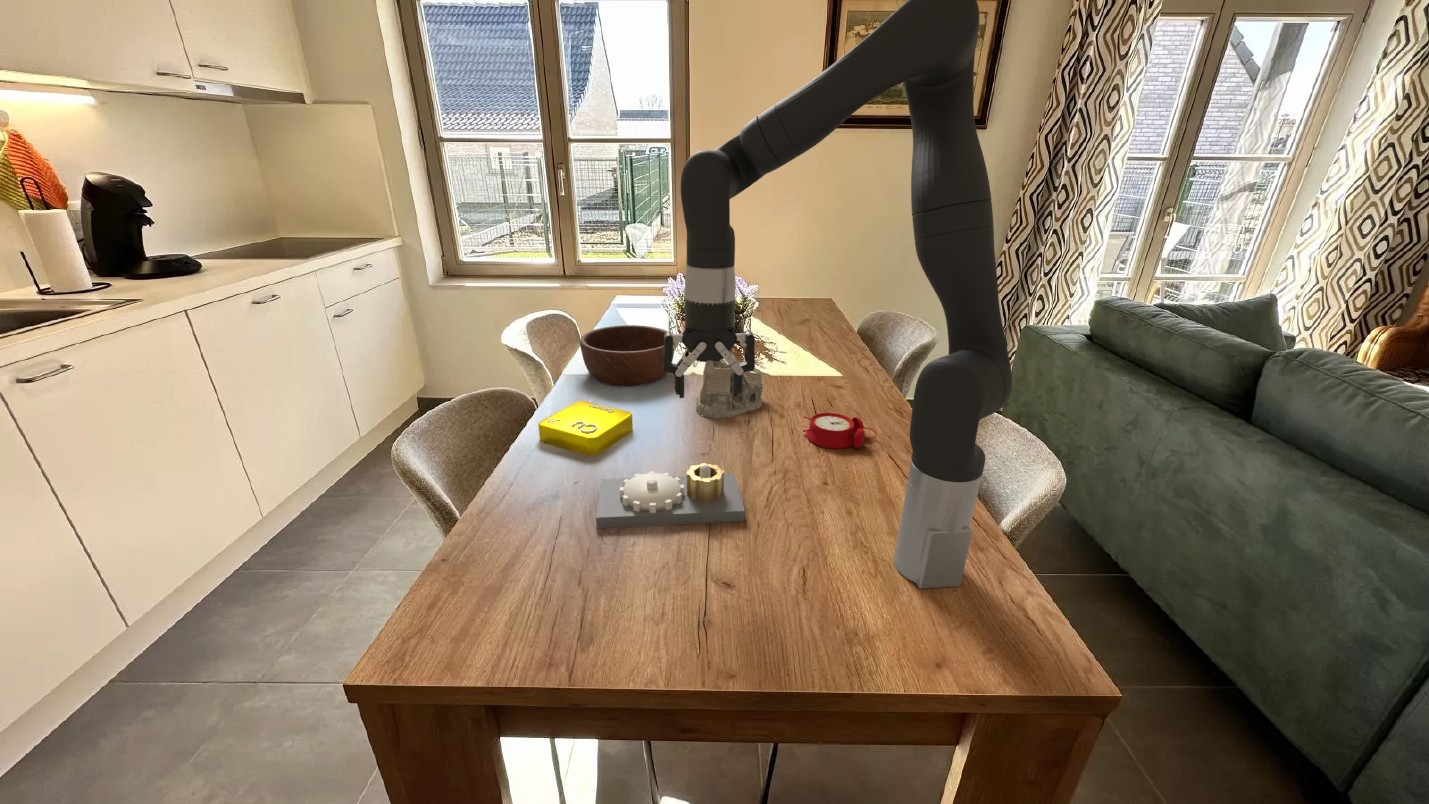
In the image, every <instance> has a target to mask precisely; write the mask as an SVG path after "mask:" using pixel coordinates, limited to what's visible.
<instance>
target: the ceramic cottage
mask: <svg viewBox="0 0 1429 804" xmlns="http://www.w3.org/2000/svg"><path fill="white" fill-rule="evenodd" d="M704 363H705V364H704V367H703V373H702V374H703V375H702V386H701V388H700V392H699V395H698V396H697V397H696V402H695V412H697V413H696V414H698V415H699V414H700V415H699V416H701V415H703V416H706V417H705V418H708V417H714V418H713V419H723V418H724V419H726V417H728V418H732V417H735V415H736V416H739V415H741V414H740V413H742V414H744V413H743V412H745V413H747V412H746V411H748V412H750V411H749V410H751V411H755V410H757V409H760V408H761V407H762V406H763V399H762V393H764V390H763V388H764V386H763V383H762V382H763V381H762V379H763V378H762V372H753V371H747V372H745V373H744V374H743V376H742V391H741V393H738V397H733V395H732V391H731V390H732V371H734V370H733V369H732V367H731V366H730V365H729V364H728V363H727V361H726V360H725V359H724V358H723V359H722V360H720V361H718V362H714V361H710V360H709V361H706V362H704ZM738 414H739V415H738ZM703 416H702V417H703Z"/></svg>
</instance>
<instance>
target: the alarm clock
mask: <svg viewBox="0 0 1429 804" xmlns="http://www.w3.org/2000/svg"><path fill="white" fill-rule="evenodd" d="M803 418H804V419H808V420H810V421H809V427H808V429H803V431H802V432H803V433H805V434H804V437H806V439H807V440H808V441H810V443H812V444H813V445H816V446H818V447H821V448H825V449H834V450H836V449H837V450H838V449H839V450H840V449H846V448H849V447H852V446H853V448H854V449H860V448H861V447H862V446H863V443H864V441H867V440H872V439H875V438H876V437H877V432H876V431H875V429H873V428H870V427H866V426H865V425H864V423H863V421H862V419H861V418H860V417H856V416H854V417H852V419H851V418H850V417H848V416H845V415H843V414H841V413H840V414H839V413H833V412H832V413H831V412H821V413H817V414H815V415H813V416H812V417H807V416H805V415H804V416H803ZM864 429H866V430H870V431H873V432H874V436H873V437H865V435H866V433H865V430H864Z"/></svg>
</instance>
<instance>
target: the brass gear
mask: <svg viewBox="0 0 1429 804" xmlns="http://www.w3.org/2000/svg"><path fill="white" fill-rule="evenodd" d="M702 465H708V466H709V467H710V469H711V476H710V478H700V468H701V466H702ZM724 474H725V471H724V469H721V467H720V465H717V464H710V463H708V464H707V462H701V463H700V464H696V465H691V466H690V467H689V468H688V470H687V471H686V476H687V495H690V497H691V499H692V500H694V501H696V500H698V501H704V503H707V502H710V501H714V500H715V499H716V500H719V499H720V498H721V493H724Z"/></svg>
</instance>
